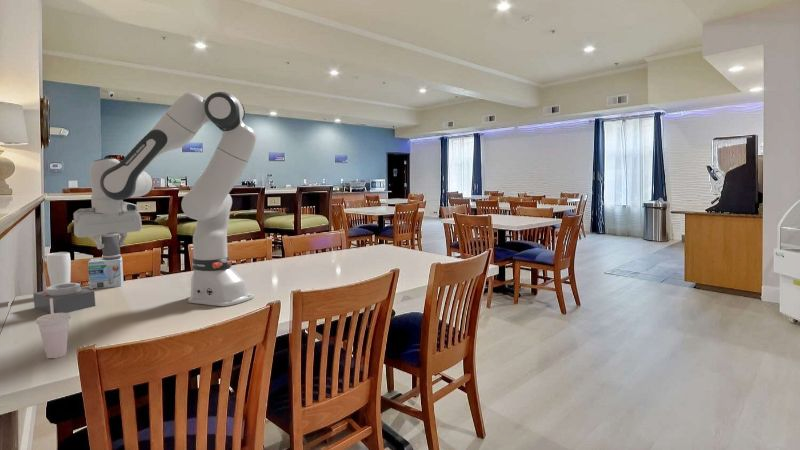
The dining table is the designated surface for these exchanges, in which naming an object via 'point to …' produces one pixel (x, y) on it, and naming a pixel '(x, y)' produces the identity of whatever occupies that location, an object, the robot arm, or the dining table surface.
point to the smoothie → (54, 332)
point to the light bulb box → (105, 273)
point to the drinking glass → (59, 267)
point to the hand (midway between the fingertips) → (111, 247)
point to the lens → (111, 246)
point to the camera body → (64, 298)
